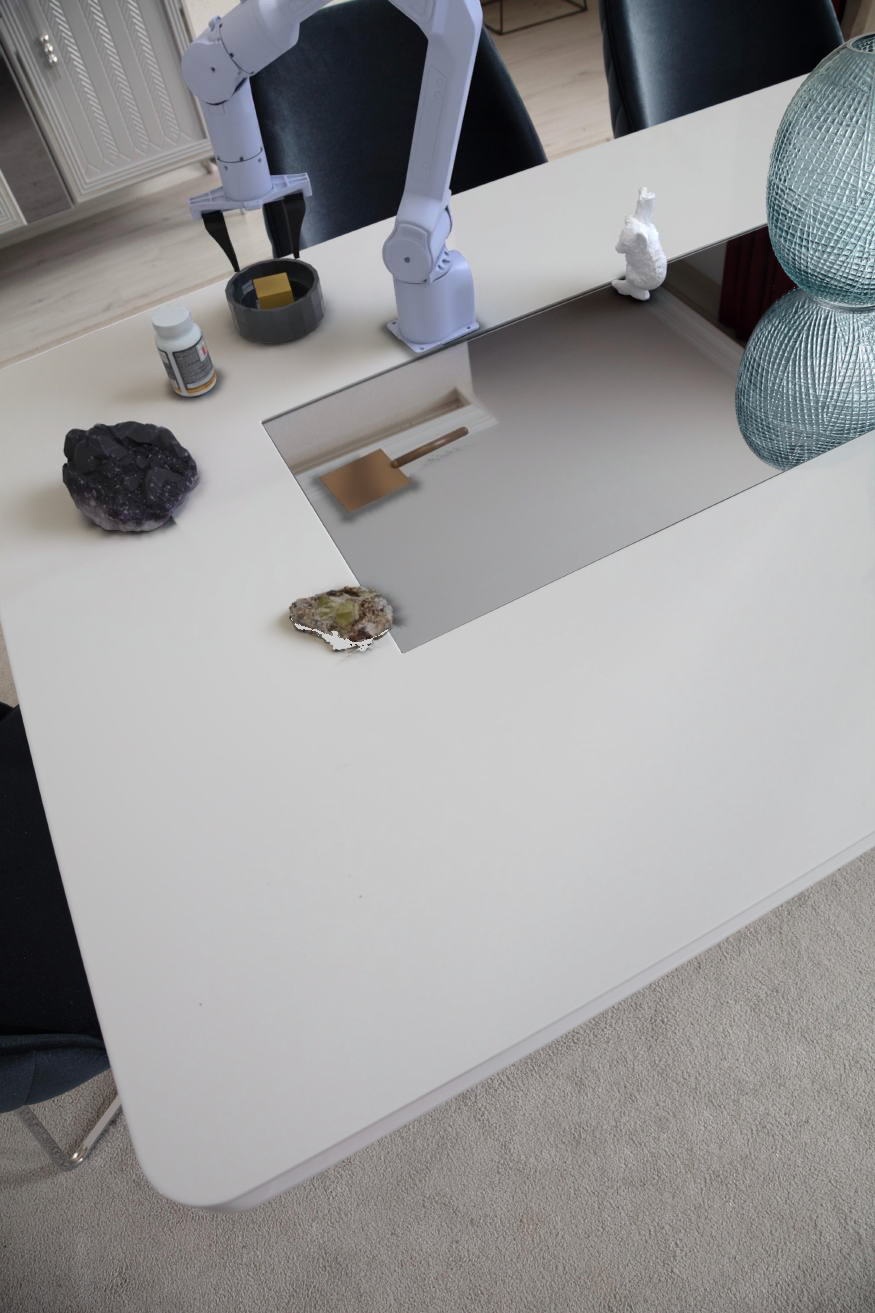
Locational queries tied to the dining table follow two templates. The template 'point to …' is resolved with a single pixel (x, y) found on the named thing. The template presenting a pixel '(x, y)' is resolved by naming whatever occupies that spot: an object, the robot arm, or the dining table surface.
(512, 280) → the dining table surface
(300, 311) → the grey round bowl
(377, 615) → the mineral rock
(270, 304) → the yellow cube block
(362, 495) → the wooden spatula
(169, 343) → the pill bottle
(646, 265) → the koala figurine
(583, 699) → the dining table surface
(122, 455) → the crystal cluster
